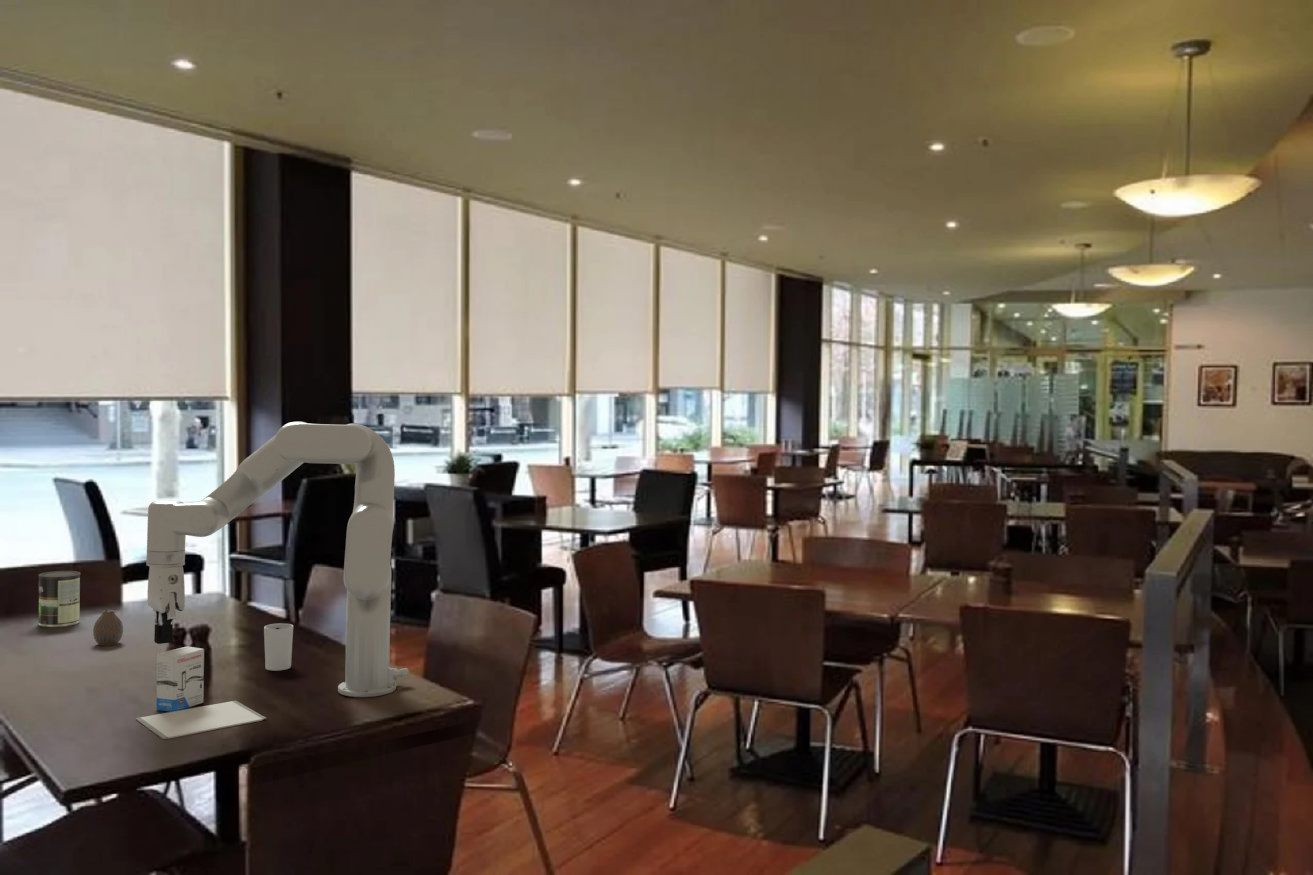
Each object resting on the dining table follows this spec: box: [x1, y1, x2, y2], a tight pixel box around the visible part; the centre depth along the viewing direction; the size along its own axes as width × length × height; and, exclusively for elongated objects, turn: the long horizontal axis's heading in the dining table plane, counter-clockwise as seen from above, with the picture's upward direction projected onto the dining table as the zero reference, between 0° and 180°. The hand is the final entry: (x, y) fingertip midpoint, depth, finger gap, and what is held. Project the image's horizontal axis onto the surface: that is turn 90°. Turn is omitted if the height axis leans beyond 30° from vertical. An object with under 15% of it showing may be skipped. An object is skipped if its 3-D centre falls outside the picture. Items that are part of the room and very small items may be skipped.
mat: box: [135, 700, 267, 740], centre depth 213 cm, size 20×16×1 cm
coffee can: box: [38, 570, 81, 628], centre depth 297 cm, size 10×10×14 cm
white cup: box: [263, 623, 294, 672], centre depth 255 cm, size 7×7×10 cm
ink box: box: [156, 646, 205, 712], centre depth 222 cm, size 9×5×12 cm, turn 160°
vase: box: [92, 609, 124, 647], centre depth 274 cm, size 7×7×9 cm
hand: (163, 642), depth 228 cm, fingers closed
